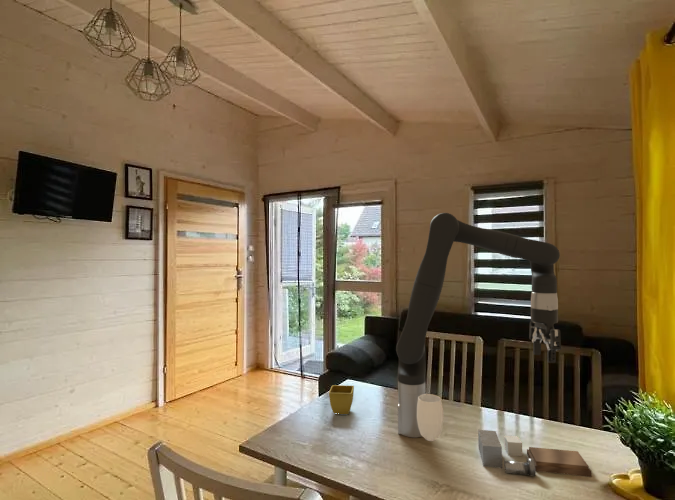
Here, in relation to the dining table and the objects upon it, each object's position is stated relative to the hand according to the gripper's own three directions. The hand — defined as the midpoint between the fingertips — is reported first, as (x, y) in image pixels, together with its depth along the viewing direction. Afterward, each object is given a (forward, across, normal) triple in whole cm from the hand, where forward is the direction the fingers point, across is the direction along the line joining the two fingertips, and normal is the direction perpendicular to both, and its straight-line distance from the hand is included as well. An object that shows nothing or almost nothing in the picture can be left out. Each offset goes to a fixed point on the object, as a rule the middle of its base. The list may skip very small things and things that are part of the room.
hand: (544, 358), depth 122 cm
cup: (+28, +14, -39) cm, 50 cm away
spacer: (+27, +4, -12) cm, 30 cm away
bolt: (+27, +15, -15) cm, 35 cm away
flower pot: (+29, -27, -63) cm, 74 cm away
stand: (+27, +12, -2) cm, 29 cm away
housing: (+28, +7, -20) cm, 35 cm away
